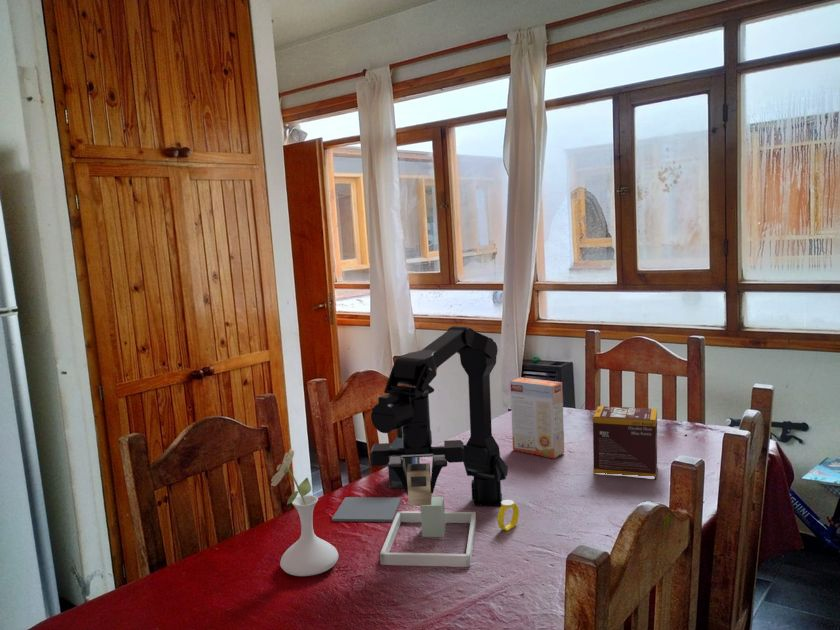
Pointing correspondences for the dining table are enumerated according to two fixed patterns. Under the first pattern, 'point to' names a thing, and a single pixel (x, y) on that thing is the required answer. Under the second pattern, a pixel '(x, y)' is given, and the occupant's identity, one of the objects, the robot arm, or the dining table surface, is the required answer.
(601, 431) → the supplement box
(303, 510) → the flower in vase
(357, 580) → the dining table surface
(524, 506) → the dining table surface
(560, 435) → the cracker box
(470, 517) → the white square frame
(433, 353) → the robot arm
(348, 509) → the mat
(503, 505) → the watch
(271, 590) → the dining table surface
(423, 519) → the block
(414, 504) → the labelled block
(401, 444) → the small box
